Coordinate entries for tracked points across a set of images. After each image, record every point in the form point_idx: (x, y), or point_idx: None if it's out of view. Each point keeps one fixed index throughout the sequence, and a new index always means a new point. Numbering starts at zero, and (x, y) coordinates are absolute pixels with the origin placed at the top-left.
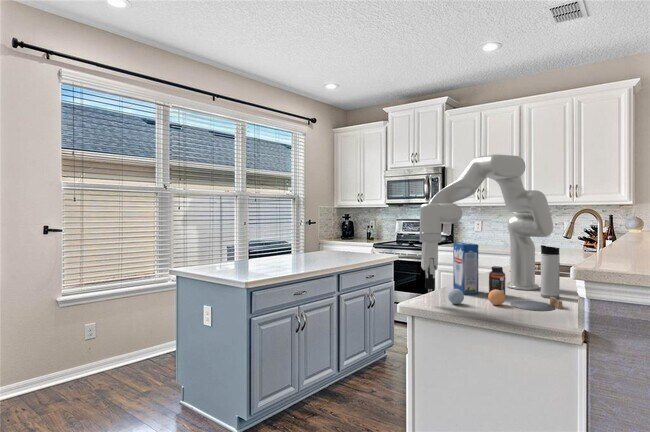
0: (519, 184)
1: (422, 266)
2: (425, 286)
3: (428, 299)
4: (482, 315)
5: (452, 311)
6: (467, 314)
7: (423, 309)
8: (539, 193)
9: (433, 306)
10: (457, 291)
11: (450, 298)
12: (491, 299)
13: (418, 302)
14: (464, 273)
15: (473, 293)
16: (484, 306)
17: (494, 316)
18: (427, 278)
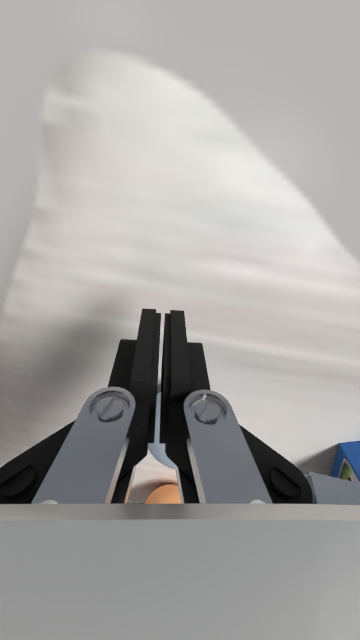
0: None
1: (3, 612)
2: (148, 317)
3: (293, 298)
4: (8, 434)
5: (37, 359)
6: (4, 398)
7: (35, 223)
8: None
9: (123, 295)
10: (157, 455)
11: (160, 397)
12: (153, 501)
13: (223, 223)
14: None
15: (334, 472)
16: (147, 461)
17: (9, 457)
18: (131, 392)
